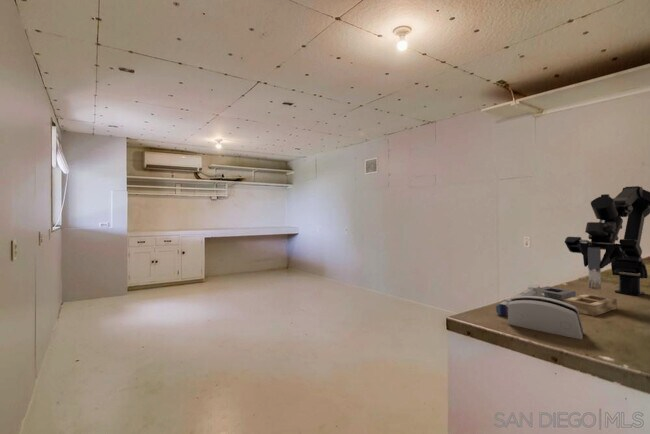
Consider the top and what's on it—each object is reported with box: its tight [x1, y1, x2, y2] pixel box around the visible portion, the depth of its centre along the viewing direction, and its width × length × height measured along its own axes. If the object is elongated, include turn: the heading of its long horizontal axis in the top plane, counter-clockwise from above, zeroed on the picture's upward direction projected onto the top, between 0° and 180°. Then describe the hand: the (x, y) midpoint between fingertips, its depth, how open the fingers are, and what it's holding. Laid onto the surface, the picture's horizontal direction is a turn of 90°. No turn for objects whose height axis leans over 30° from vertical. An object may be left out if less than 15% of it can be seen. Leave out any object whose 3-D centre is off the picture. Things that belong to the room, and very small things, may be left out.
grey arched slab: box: [507, 296, 585, 340], centre depth 87 cm, size 17×5×10 cm, turn 45°
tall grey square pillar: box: [587, 247, 602, 291], centre depth 105 cm, size 3×3×13 cm
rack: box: [564, 293, 618, 317], centre depth 103 cm, size 14×8×3 cm, turn 118°
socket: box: [540, 286, 577, 302], centre depth 115 cm, size 9×9×3 cm
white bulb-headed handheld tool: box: [495, 283, 545, 317], centre depth 106 cm, size 5×7×25 cm
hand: (592, 266), depth 104 cm, fingers closed on tall grey square pillar, 4 cm apart
